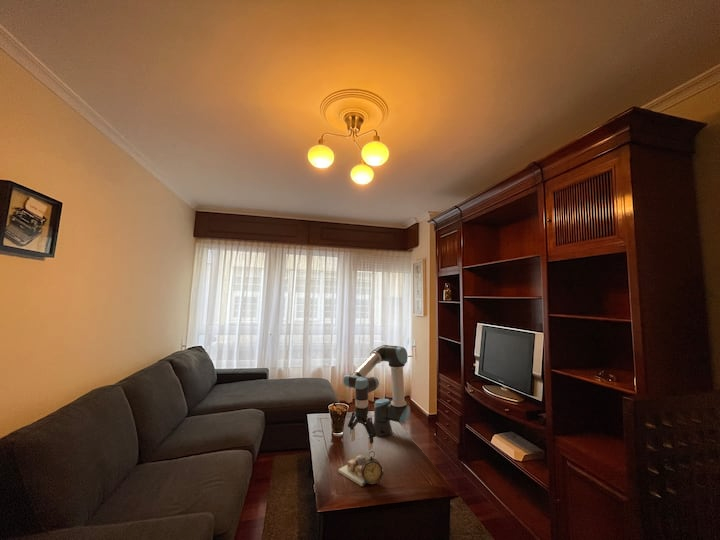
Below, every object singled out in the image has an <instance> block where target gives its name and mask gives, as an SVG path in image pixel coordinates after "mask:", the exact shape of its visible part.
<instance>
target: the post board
mask: <svg viewBox="0 0 720 540" xmlns="http://www.w3.org/2000/svg"><path fill="white" fill-rule="evenodd" d="M362 456H363V455H362ZM362 456H360V457H358V465H363V463H364V457H365V456H364V457H362ZM382 470H383V471H384V469H383V468H382ZM337 472H338V474H341V475H342V476H344V477H345V478H347V479H348V480H350V481H352V482H354V483H355V484H357V485H359V486H360V487H363V486H364V484H365V480H364V479H363V477H360V476H358V475H356V467H355V471H354V472H351V471H349V470H348V469H347V464H346V465H344V466H342V467H340V468H338V471H337ZM365 485H366V484H365Z"/></svg>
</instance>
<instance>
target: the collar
mask: <svg viewBox="0 0 720 540" xmlns="http://www.w3.org/2000/svg"><path fill="white" fill-rule="evenodd" d="M360 456H362V457H364V462H365V461H366V460H367V457H366V456H364V455H363V454H359V455H357V456H355V457H353V458H352V459H350V460H348V461H347V462H346V463H347V464H346V465H347V469H348V470H349V471H351V472H354V471H355V467H356V475H358V476H360V477H363V476H362V474H361V468H362V465H358V457H360Z"/></svg>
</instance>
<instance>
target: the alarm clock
mask: <svg viewBox="0 0 720 540" xmlns="http://www.w3.org/2000/svg"><path fill="white" fill-rule="evenodd" d="M370 453H373V456H370ZM368 457H369V458H368V459H367V458H366V461H365V462H364V463H363V465H362V468H361V474H362V476H363V479H364V480H365V484H364V485H363V486H366V484H368V485H375V484H377V483H379V484H381V482H380V481H381V479H382V476H383V473H384V469H383V467H382V465H381V463H380V462H379V460H378V459H376V458H373V457H375V452H374V451H373V450H371V451H369V452H368ZM382 469H383V470H382Z"/></svg>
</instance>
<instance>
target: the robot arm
mask: <svg viewBox="0 0 720 540" xmlns="http://www.w3.org/2000/svg"><path fill="white" fill-rule="evenodd" d="M408 357H409V356H408V352H407V348H405V347H404V346H399V345H388V344H384V345H380V346H378V347H376V348H374V349H373V350H372V351H371V352H370V354H369V356H368V357H367V358H366V359H365V360H364V361H363V362H362V363H361V364H360V365H359V366H358V367H357V368H356V369H355V371H353V373H350V374H346V375H344V377H343V384H344V386H345V387H348V388H351V389H355V391H354V393H355V398H354V399H355V400H354V401H355V404H354V405H355V408H354V409H355V410H354V411H353V412H351V416H350V420H349V421H348V424H347V427H348V428H349V429H350V442H351V443H352V442H354V441H356V428H355V427H356V426H357V425H358V424H361V425H363V427H364V429H365V430H366V433H367V434H368V436H367V437H368V438H367V439H368V443H367V445H368V447H367V448H368V450H369V451H370V450H372V449H373V444H374V438H375V437H379V438H380V437H381V438H386V437H389V436H390V437H391V436H392V434H393V429H392V424H391V421H392V422H396V423H399V424H406V423H407V422H408V420H409V418H410V415H411V407H410V406H409V405H408V404H407V403H408V402H407V401H406V400H405V385H404V384H405V383H404V367H405V365H406V364H407V363H408ZM381 362H387V363H388V366H389V368H390V372H391V395H392V396H391V397H392V399H391V400H390V399H389V398H379V399H376V400H375V401H374V407H373V409H374V412H373V413H374V415H373V418H374V420H373V418H372V416H370V417H368V414H369V394H370V393H371V392H373V391H375V390H377V389H378V388H379V385H380V383H379V379H378V378H377V377H375V376H370V377H367V375H368V374H369V373H370V372H371V371H372V370H373V369H374V368H375V367H376V366H377V364H381Z"/></svg>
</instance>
